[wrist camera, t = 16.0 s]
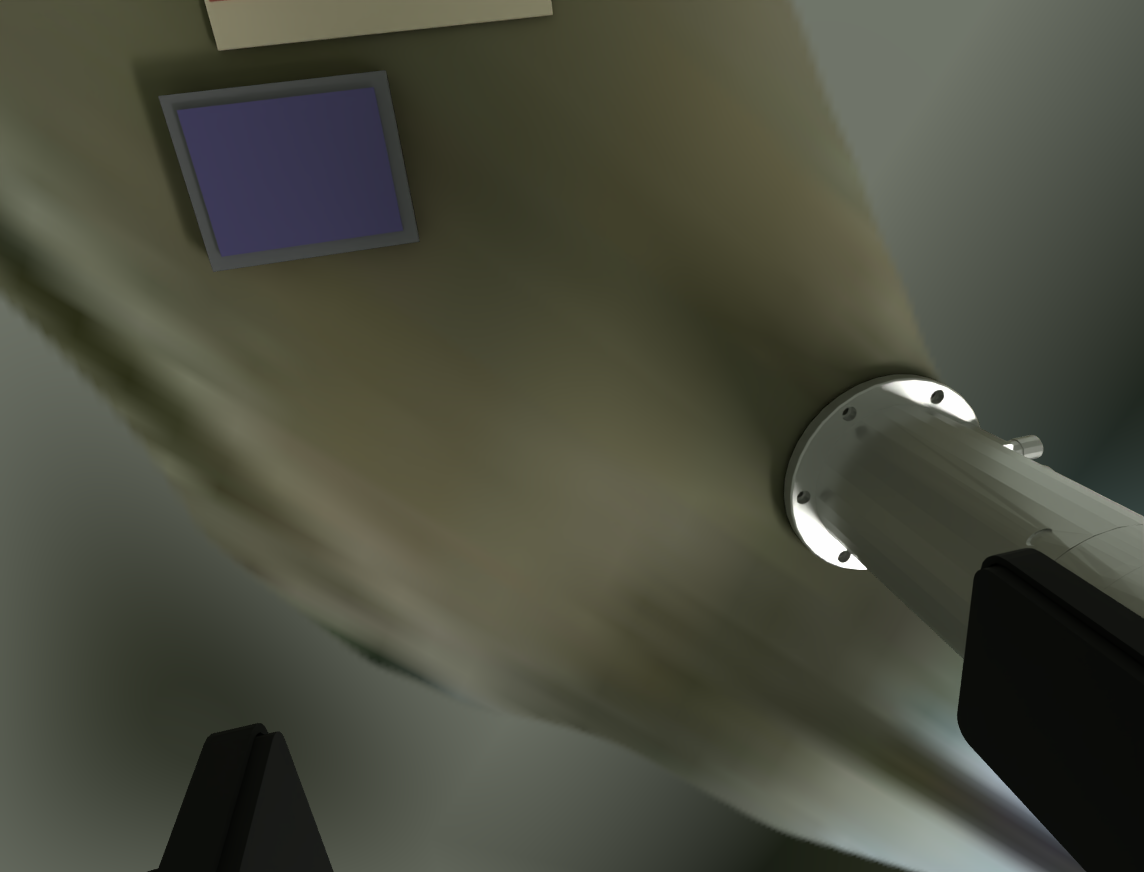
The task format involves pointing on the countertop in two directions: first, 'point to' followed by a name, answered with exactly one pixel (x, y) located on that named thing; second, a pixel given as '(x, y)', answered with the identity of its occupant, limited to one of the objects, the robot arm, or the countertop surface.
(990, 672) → the robot arm
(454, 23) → the card sheet
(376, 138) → the ink pad
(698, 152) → the countertop surface
